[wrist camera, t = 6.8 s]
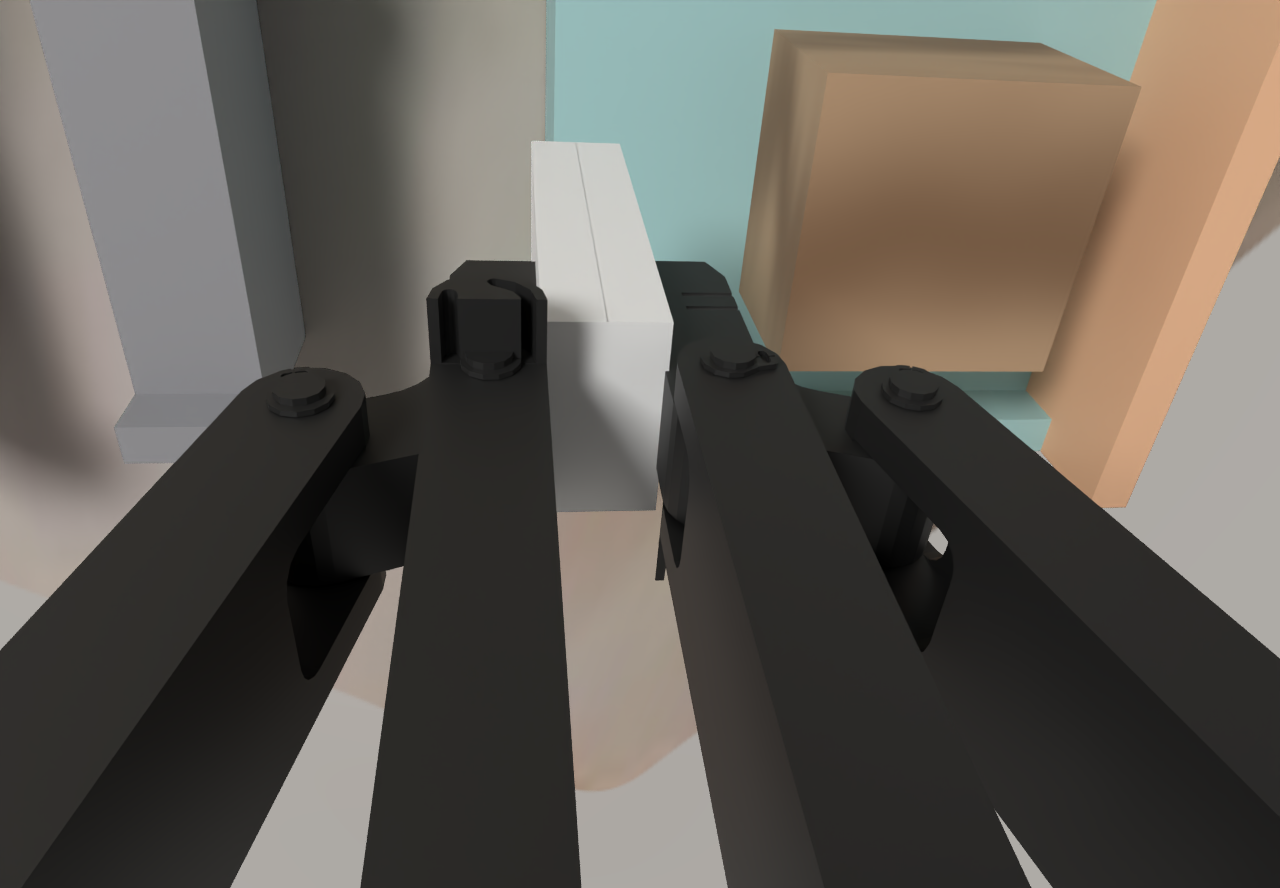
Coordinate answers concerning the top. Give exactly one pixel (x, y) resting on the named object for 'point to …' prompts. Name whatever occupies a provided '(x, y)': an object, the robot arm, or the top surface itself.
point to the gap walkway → (668, 185)
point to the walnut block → (924, 199)
